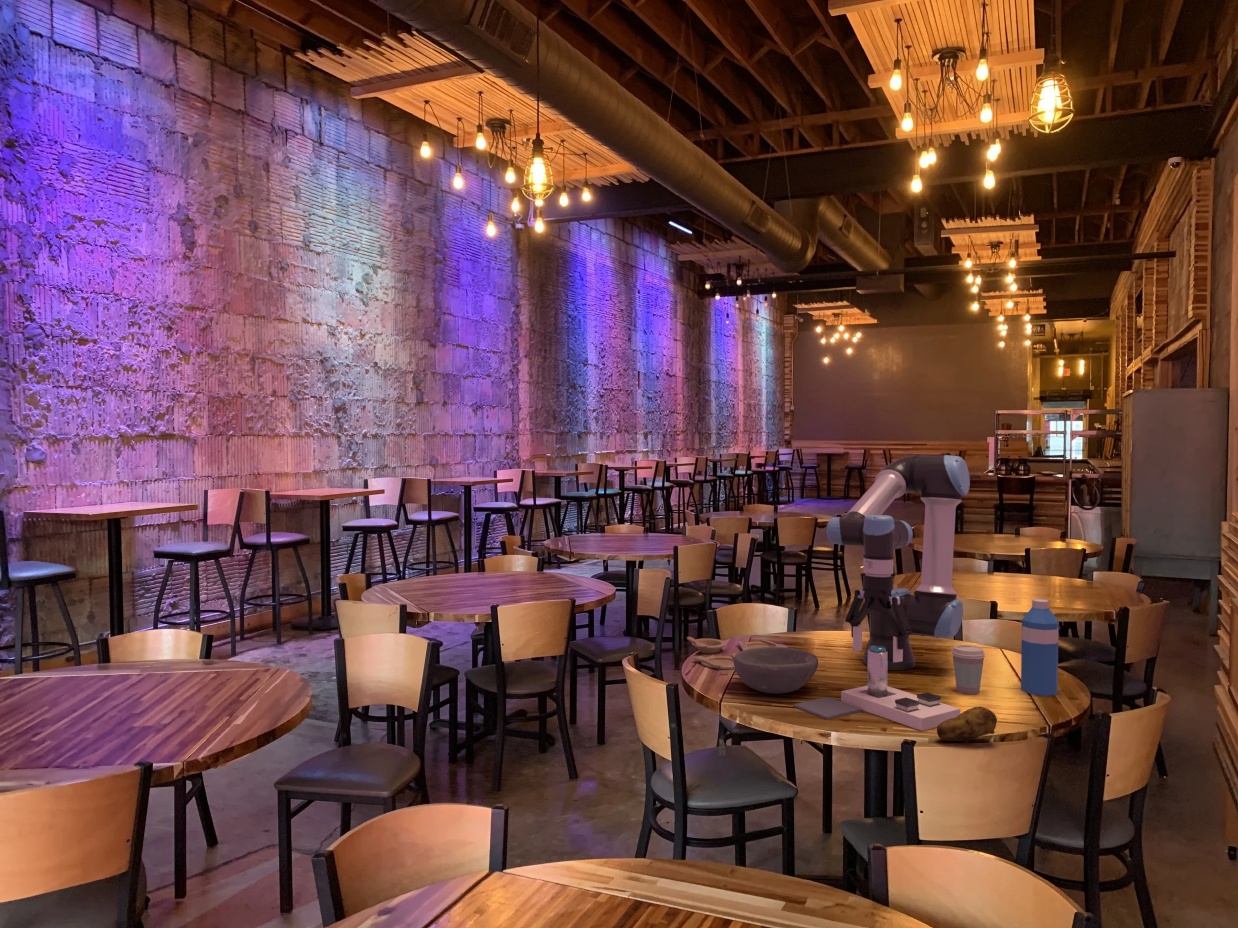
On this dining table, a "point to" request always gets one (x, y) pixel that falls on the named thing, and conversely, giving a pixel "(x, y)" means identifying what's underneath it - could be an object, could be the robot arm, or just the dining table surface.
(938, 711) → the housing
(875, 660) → the cylinder
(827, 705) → the mat
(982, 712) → the potato
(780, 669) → the bowl
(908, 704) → the plunger near
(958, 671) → the coffee cup
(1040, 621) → the water bottle
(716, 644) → the tableware set
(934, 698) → the dark topped block
